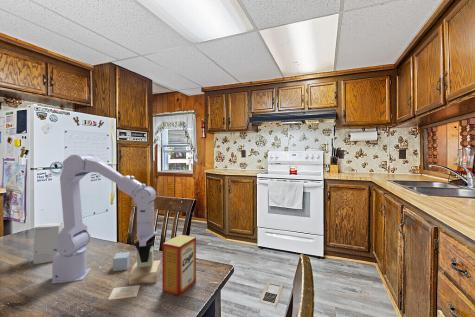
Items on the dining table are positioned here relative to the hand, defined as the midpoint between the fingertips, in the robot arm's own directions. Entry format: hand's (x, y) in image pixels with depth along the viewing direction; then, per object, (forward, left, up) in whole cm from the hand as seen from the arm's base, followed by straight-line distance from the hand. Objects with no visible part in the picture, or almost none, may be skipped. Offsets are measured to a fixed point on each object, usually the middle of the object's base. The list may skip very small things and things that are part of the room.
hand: (145, 258), depth 84 cm
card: (-5, -9, -7) cm, 12 cm away
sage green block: (0, 0, -2) cm, 2 cm away
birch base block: (0, 0, -7) cm, 7 cm away
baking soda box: (+12, -9, -7) cm, 17 cm away
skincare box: (-41, +23, -7) cm, 48 cm away
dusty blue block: (-10, +9, -7) cm, 15 cm away
